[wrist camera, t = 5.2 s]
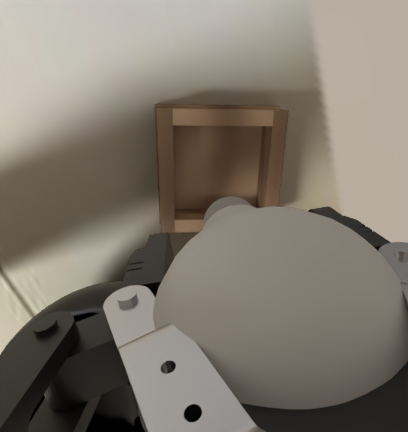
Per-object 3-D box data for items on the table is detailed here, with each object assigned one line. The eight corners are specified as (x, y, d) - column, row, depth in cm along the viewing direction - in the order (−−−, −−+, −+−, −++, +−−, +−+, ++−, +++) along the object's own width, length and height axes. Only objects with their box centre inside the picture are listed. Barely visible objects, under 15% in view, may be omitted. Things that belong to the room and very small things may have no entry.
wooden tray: (160, 219, 30) (158, 236, 27) (155, 104, 26) (152, 104, 23) (266, 217, 31) (278, 233, 28) (276, 106, 27) (292, 106, 24)
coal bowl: (210, 384, 39) (237, 612, 22) (49, 385, 37) (-65, 641, 19) (229, 247, 32) (293, 420, 15) (33, 237, 30) (-168, 429, 12)
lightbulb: (211, 127, 13) (314, 215, 3) (312, 197, 15) (603, 410, 5) (142, 233, 15) (59, 524, 5) (240, 286, 16) (339, 591, 6)
